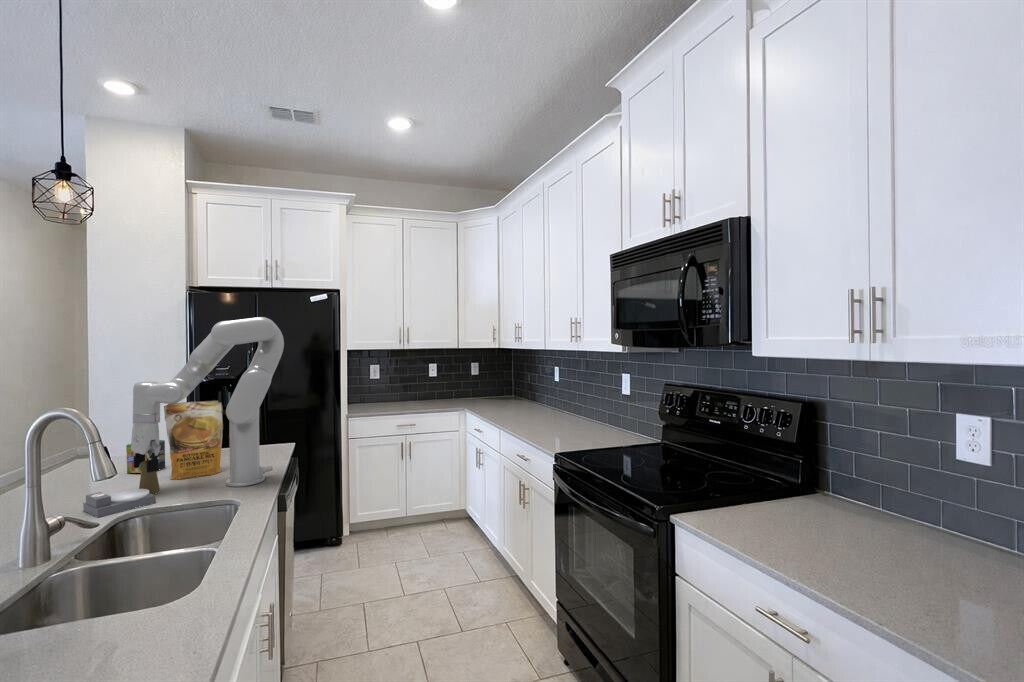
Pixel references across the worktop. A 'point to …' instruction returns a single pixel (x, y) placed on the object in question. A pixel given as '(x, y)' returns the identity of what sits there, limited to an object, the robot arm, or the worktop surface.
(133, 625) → the worktop surface
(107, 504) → the kitchen scale
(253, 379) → the robot arm
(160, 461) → the chalk box
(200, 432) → the pancake mix bag
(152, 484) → the cork
